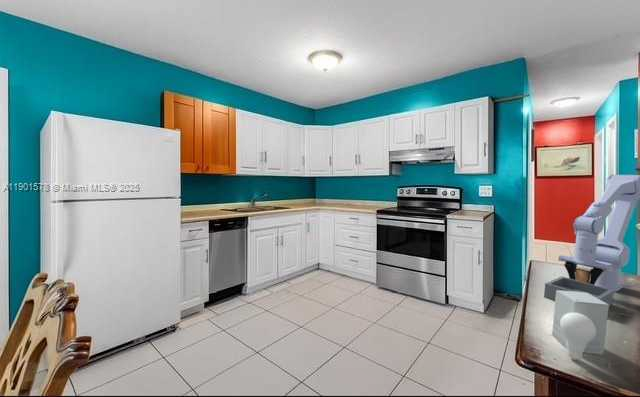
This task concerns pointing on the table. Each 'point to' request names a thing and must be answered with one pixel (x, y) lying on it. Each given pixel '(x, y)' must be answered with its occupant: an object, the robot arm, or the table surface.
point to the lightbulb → (577, 333)
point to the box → (577, 289)
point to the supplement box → (586, 307)
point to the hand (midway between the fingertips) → (581, 284)
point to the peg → (582, 275)
